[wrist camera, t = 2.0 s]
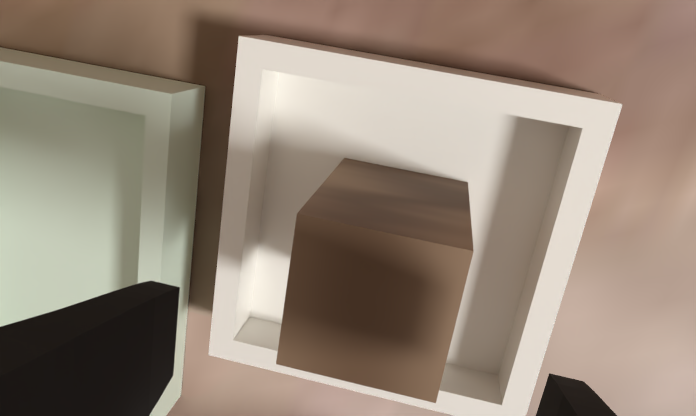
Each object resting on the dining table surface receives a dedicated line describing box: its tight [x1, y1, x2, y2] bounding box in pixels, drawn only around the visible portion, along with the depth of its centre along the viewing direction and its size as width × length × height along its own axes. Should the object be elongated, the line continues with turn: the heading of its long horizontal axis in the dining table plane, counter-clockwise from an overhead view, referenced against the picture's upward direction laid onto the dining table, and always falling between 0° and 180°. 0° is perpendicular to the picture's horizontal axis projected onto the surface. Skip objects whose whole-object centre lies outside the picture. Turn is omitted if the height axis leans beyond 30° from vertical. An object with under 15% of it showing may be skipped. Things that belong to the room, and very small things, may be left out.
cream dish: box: [209, 35, 622, 416], centre depth 19 cm, size 11×11×2 cm
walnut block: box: [276, 158, 474, 403], centre depth 16 cm, size 4×4×6 cm
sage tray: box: [0, 47, 206, 416], centre depth 21 cm, size 10×13×2 cm
